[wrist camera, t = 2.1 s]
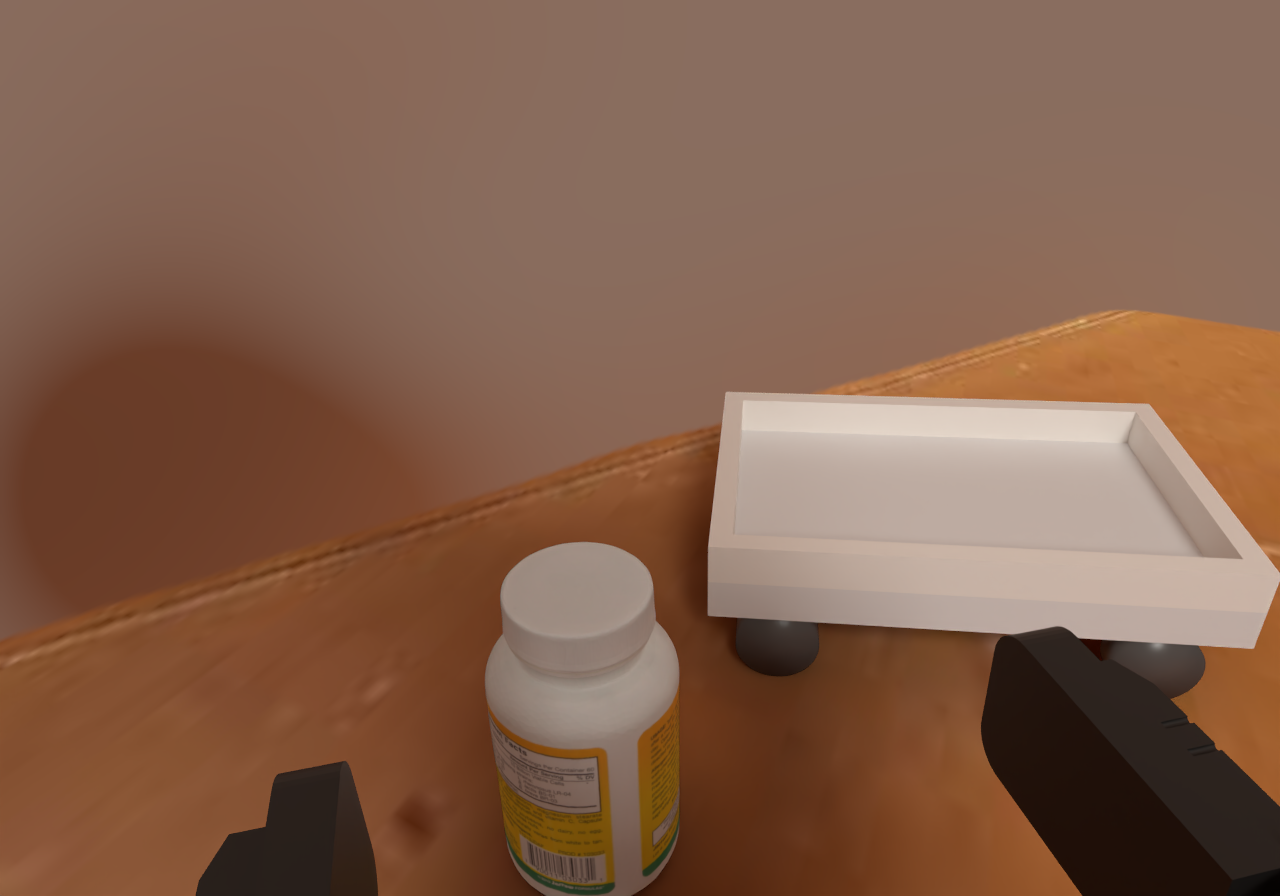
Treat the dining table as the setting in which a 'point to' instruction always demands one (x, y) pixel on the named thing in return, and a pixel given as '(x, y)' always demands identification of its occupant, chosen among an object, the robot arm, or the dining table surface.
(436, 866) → the dining table surface
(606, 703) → the supplement bottle
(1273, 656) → the dining table surface
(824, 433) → the white footed tray
